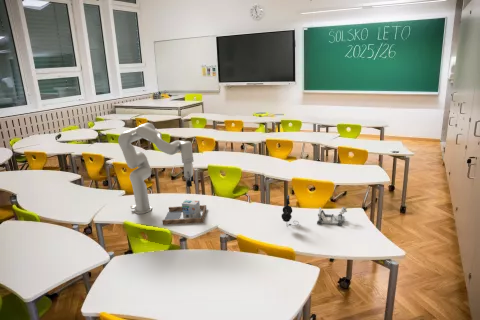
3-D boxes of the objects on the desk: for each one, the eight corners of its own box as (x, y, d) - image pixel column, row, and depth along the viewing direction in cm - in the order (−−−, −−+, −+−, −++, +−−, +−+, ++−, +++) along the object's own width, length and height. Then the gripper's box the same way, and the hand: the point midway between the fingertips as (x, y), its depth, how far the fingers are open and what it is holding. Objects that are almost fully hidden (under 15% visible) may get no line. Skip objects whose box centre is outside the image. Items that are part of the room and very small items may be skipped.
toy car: (347, 204, 214) (347, 212, 204) (346, 218, 217) (346, 227, 206) (318, 203, 219) (316, 210, 209) (318, 216, 222) (316, 224, 211)
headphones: (300, 232, 203) (299, 201, 197) (281, 231, 206) (280, 201, 200) (300, 220, 217) (300, 191, 212) (283, 220, 220) (282, 191, 214)
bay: (162, 224, 224) (161, 220, 223) (168, 210, 244) (168, 207, 243) (203, 222, 223) (202, 218, 222) (206, 208, 243) (206, 205, 243)
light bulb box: (182, 217, 232) (181, 203, 229) (187, 213, 238) (185, 199, 235) (196, 219, 229) (195, 204, 226) (201, 214, 235) (199, 200, 232)
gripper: (183, 156, 232) (186, 179, 237) (180, 164, 215) (183, 189, 220) (194, 155, 232) (197, 179, 237) (191, 163, 215) (194, 188, 220)
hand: (190, 183), depth 228 cm, fingers open, 9 cm apart
